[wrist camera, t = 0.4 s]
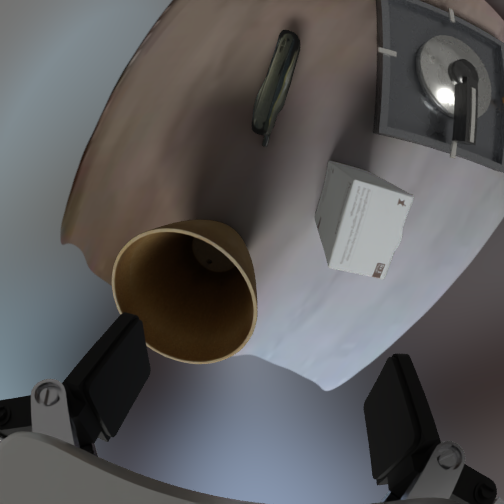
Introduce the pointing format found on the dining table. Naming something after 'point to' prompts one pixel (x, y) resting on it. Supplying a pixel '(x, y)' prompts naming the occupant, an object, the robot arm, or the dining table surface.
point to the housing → (409, 88)
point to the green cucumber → (275, 84)
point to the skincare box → (360, 220)
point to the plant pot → (189, 290)
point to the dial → (455, 83)
